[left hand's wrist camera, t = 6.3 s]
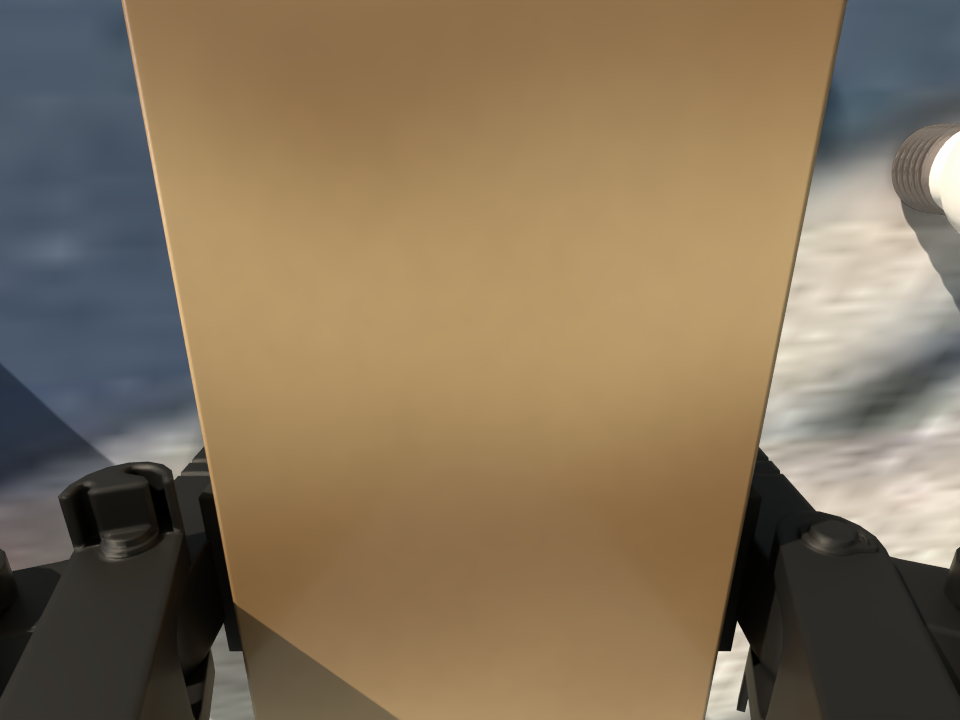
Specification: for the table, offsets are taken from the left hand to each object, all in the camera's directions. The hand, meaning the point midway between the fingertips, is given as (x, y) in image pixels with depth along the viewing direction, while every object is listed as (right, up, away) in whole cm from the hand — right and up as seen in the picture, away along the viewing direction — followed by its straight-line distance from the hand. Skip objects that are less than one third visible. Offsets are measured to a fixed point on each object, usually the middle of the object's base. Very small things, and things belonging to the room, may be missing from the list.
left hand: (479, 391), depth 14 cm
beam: (0, +14, -5) cm, 15 cm away
